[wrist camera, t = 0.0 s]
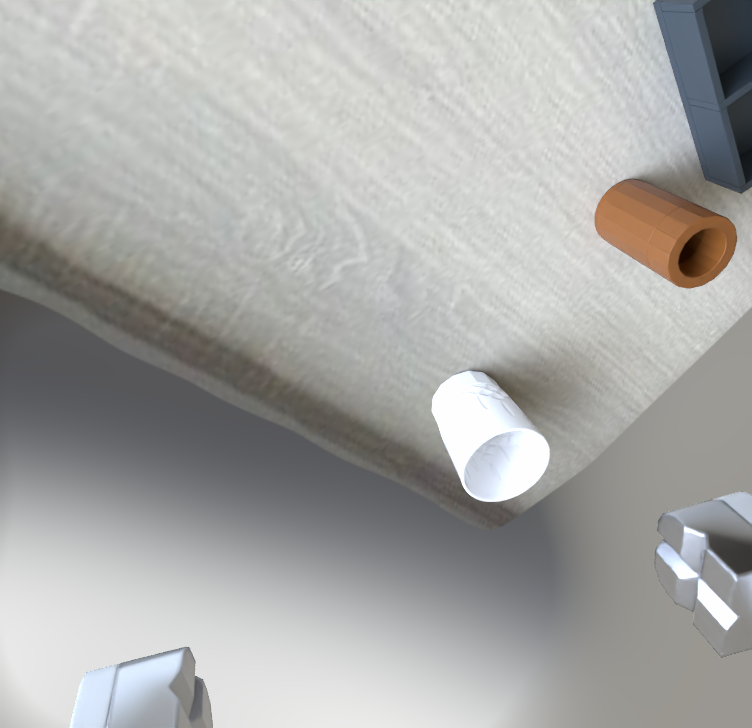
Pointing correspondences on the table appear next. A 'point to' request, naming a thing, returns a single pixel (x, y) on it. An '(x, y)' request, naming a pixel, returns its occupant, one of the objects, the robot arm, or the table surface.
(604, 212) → the jar
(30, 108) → the table surface
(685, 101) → the compartment tray
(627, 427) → the table surface
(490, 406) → the white cup
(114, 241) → the table surface
